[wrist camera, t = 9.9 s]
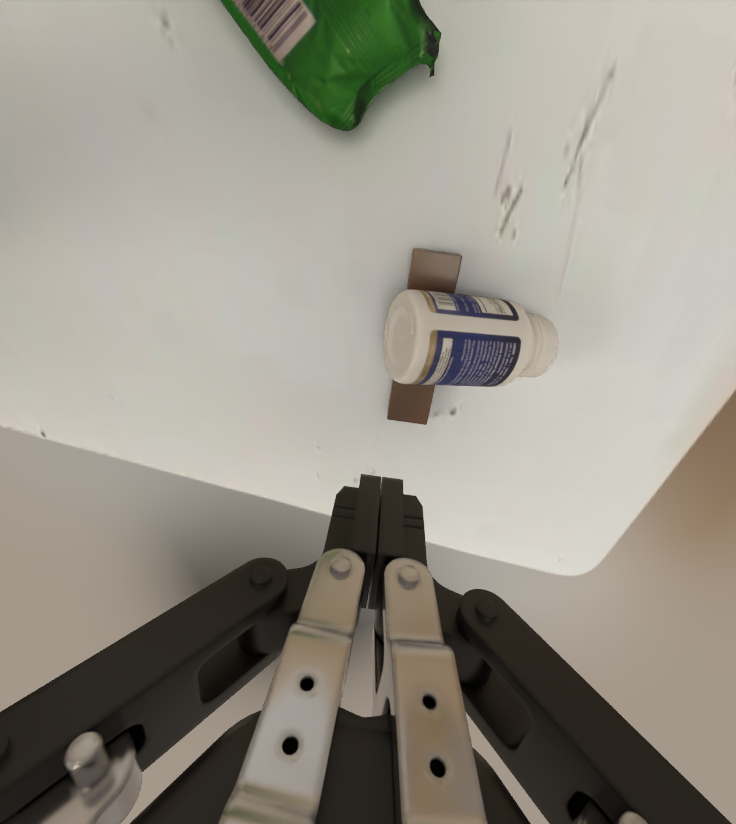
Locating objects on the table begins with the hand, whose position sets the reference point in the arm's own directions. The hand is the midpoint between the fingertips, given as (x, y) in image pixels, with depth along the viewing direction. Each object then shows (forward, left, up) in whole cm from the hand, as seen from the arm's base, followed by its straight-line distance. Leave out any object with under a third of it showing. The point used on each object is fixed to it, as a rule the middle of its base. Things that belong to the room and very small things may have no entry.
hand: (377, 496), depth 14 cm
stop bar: (+2, +1, -16) cm, 17 cm away
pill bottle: (0, +3, -11) cm, 11 cm away
